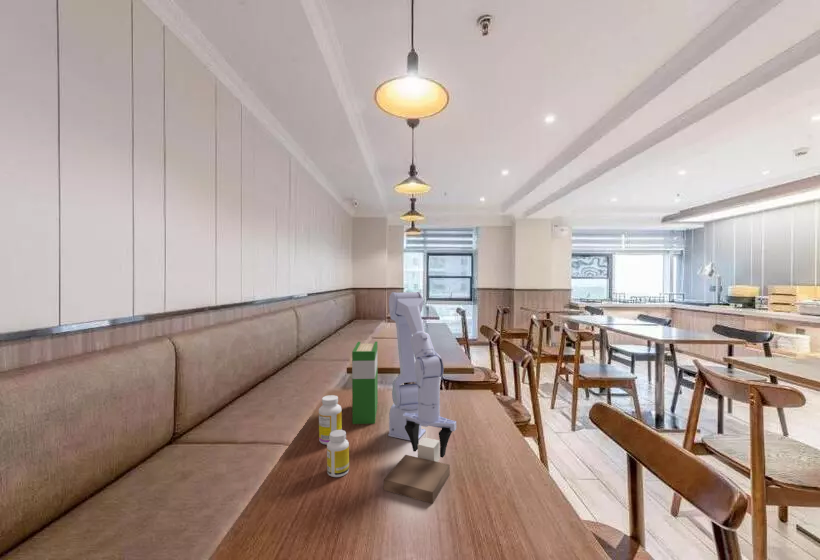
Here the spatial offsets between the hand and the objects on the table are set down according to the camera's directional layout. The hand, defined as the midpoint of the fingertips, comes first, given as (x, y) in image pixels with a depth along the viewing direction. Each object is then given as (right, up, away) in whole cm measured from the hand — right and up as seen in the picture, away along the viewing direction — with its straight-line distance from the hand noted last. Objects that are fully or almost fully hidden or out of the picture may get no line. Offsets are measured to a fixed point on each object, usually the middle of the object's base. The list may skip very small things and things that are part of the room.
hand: (429, 452), depth 93 cm
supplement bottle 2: (-23, -3, -5) cm, 24 cm away
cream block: (0, -2, 0) cm, 2 cm away
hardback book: (-21, -2, +32) cm, 38 cm away
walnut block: (-3, -2, -9) cm, 10 cm away
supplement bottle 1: (-29, -2, +12) cm, 31 cm away
